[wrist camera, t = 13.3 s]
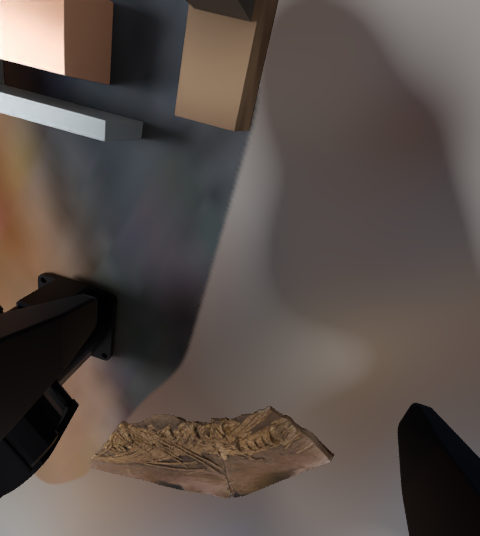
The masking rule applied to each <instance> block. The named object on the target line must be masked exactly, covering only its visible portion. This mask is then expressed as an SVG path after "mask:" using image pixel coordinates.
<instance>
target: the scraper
mask: <svg viewBox="0 0 480 536" xmlns="http://www.w3.org/2000/svg"><path fill="white" fill-rule="evenodd" d="M186 1H187V2H188V3H189V9H188V17H187V24H186V32H185V40H184V47H183V55H182V63H181V70H180V78H179V86H178V93H177V101H176V109H175V116H179V117H183V118H187V119H190V120H194V121H198V122H202V123H205V124H209V125H213V126H217V127H220V128H224V129H228V130H232V131H247V130H249V127H250V123H251V119H252V114H253V110H254V105H255V101H256V96H257V93H258V89H259V84H260V80H261V76H262V71H263V66H264V62H265V58H266V54H267V49H268V45H269V40H270V36H271V31H272V27H273V23H274V18H275V14H276V9H277V5H278V0H186Z"/></svg>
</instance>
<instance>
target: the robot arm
mask: <svg viewBox="0 0 480 536" xmlns="http://www.w3.org/2000/svg"><path fill="white" fill-rule="evenodd" d="M45 279H46V280H45ZM108 299H110V301H111V302H110V301H109V300H108ZM116 302H117V300H116V297H115V296H114V295H113V294H111V293H108V292H105V291H102V290H99V289H96V288H92V287H89V286H87V285H84V284H81V283H78V282H75V281H72V280H69V279H65V278H62V277H58V276H55V275H52V274H49V273H43V274H41V275H39V276H38V290H36V291H34V292H32V293H31V294H29V295H27V296H26V297H24V298H22V299H21V300H19V301H17V302H16V305H17V306H16V307H14V308H12V309H11V310H9V311H7V312H5V313H4V312H3V311H2V310H4V309H3V308H2V307H1V306H0V498H1V497H2V496H3V495H6V494H7V493H9V492H11V491H13V490H14V489H16V488H17V487H19V486H20V485H21V484H23V483H24V482H25V481H26V480H28V479H29V478H30V477H31V476H32V475H33V474H34V473H35V472H36V471H37V470H38V469H39V468H40V467H41V466H42V465H43V464H44V463H45V461H46V460H47V459H48V458H49V456H50V455H51V453H52V452H53V450H54V448H55V447H56V445H57V443H58V441H59V440H60V438H61V436H62V434H63V433H64V431H65V429H66V427H67V425H68V424H69V422H70V420H71V418H72V417H73V415H74V413H75V411H76V409H77V408H78V406H79V405H78V403H77V402H76V401H75V400H74V399H72V398H71V397H70V396H69V394H68V393H67V392H66V391H65V389H64V388H63V387H62V384H63V383H64V382H65V381H66V380H67V379H68V378H69V377H70V376H71V375H72V374H73V373H74V372H75V371H76V370H77V369H78V368H79V367H80V366H81V365H82V364H83V363H84V362H85V361H86V360H87V359H88V358H89V357H90V356H94V357H97V358H100V359H103V360H109V359H110V358H111V357H112V355H113V342H114V329H115V316H116ZM398 445H399V458H400V459H399V460H400V474H401V487H402V495H403V502H404V507H405V513H406V519H407V525H408V531H409V536H480V458H479V457H478V456H477V455H476V454H475V453H474V452H473V451H472V450H471V449H470V448H469V446H467V444H466V443H465V442H464V441H463V440H462V439H461V438H460V437H459V436H458V435H457V434H456V433H455V432H454V431H453V430H452V429H451V428H450V427H449V426H448V425H447V423H446V422H445V421H444V420H443V419H442V418H441V417H440V416H439V415H438V414H437V413H436V412H435V411H434V410H433V409H432V408H431V407H428V406H425V405H422V404H419V403H413V404H412V405H411V406H410V407H409V409H408V410H407V412H406V414H405V415H404V417H403V418H402V420H401V421H400V423H399V426H398Z"/></svg>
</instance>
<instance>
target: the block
mask: <svg viewBox="0 0 480 536" xmlns="http://www.w3.org/2000/svg"><path fill="white" fill-rule="evenodd" d="M112 23H113V2H112V1H110V0H0V59H2V60H6V61H10V62H14V63H18V64H22V65H26V66H30V67H34V68H37V69H41V70H45V71H49V72H53V73H57V74H61V75H65V76H70V77H75V78H79V79H84V80H89V81H94V82H99V83H104V84H108V85H110V68H111V45H112Z"/></svg>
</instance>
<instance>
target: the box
mask: <svg viewBox="0 0 480 536" xmlns="http://www.w3.org/2000/svg"><path fill="white" fill-rule="evenodd" d="M0 113H3V114H7V115H11V116H14V117H18V118H21V119H25V120H29V121H32V122H36V123H40V124H43V125H47V126H50V127H54V128H58V129H61V130H65V131H68V132H72V133H76V134H79V135H83V136H86V137H90V138H94V139H97V140H101V141H119V140H134V139H142V129H143V122H142V121H138V120H135V119H131V118H127V117H123V116H120V115H116V114H112V113H109V112H105V111H101V110H97V109H94V108H90V107H86V106H82V105H79V104H75V103H71V102H67V101H64V100H60V99H56V98H52V97H49V96H45V95H41V94H38V93H34V92H30V91H26V90H23V89H19V88H15V87H11V86H8V85H5V83H4V70H3V60H2V59H0Z"/></svg>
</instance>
